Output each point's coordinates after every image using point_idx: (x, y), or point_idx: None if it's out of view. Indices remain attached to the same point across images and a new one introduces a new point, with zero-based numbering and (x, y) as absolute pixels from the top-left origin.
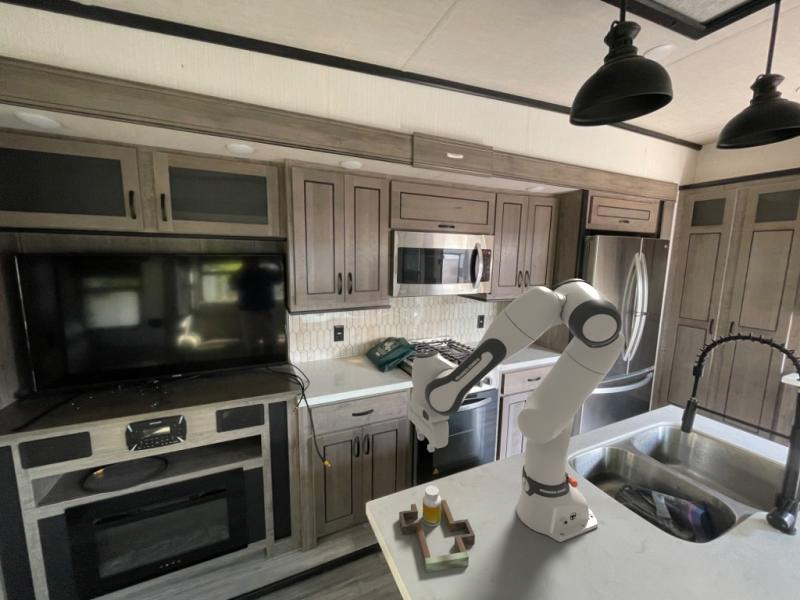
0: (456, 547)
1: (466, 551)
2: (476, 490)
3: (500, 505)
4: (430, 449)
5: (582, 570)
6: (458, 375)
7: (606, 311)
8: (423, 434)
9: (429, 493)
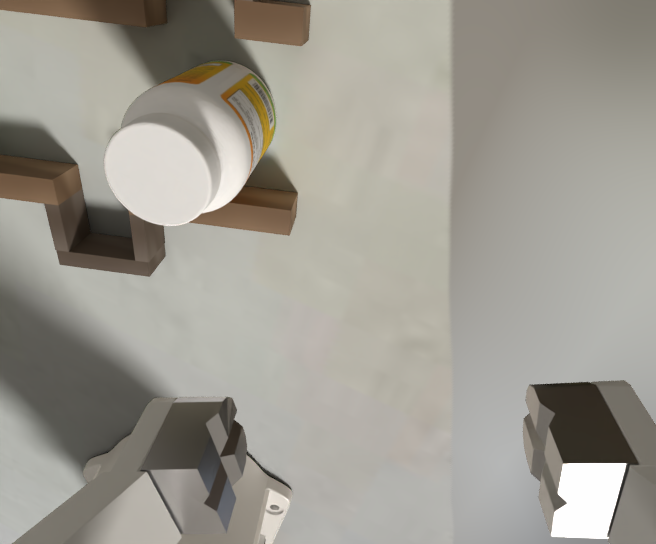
0: (43, 164)
1: None
2: (354, 376)
3: (253, 408)
4: (139, 442)
5: (2, 451)
6: None
7: None
8: (564, 528)
9: (122, 145)
